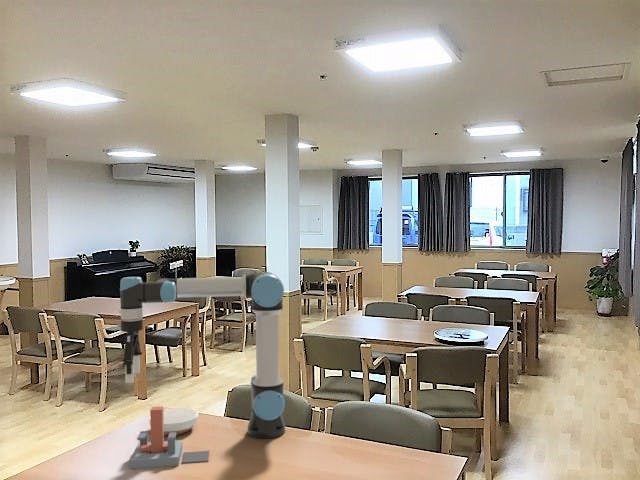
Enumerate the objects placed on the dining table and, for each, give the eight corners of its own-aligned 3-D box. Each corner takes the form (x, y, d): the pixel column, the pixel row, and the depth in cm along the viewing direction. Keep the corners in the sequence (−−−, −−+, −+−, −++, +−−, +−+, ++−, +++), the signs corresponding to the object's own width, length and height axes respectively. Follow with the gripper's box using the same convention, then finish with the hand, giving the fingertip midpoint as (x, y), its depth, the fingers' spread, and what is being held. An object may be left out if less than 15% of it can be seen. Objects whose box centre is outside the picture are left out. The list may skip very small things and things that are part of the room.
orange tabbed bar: (174, 454, 207) (174, 405, 206) (173, 459, 203) (172, 408, 202) (141, 457, 205) (140, 407, 205) (140, 461, 201) (139, 410, 201)
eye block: (182, 447, 213) (182, 425, 213) (178, 465, 197) (178, 441, 197) (138, 451, 211) (137, 428, 210) (130, 469, 195) (130, 445, 195)
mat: (209, 451, 209) (209, 450, 209) (208, 461, 200) (208, 460, 200) (184, 453, 208) (184, 452, 208) (181, 463, 199) (181, 462, 199)
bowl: (192, 439, 222) (192, 423, 222) (142, 439, 222) (142, 423, 222) (203, 421, 242) (203, 407, 241) (157, 422, 242) (157, 408, 242)
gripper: (127, 314, 219) (128, 369, 219) (113, 325, 194) (115, 387, 194) (147, 314, 220) (148, 368, 220) (136, 324, 195) (138, 386, 196)
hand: (133, 377), depth 207 cm, fingers open, 13 cm apart
